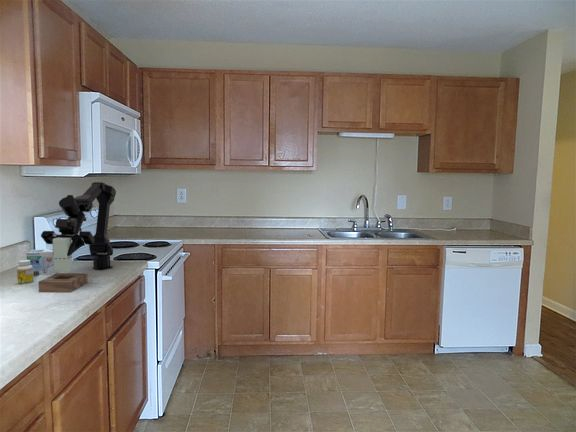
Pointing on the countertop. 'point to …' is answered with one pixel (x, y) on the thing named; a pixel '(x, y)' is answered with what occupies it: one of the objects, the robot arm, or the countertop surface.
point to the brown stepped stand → (63, 282)
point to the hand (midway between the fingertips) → (60, 255)
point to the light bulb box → (41, 261)
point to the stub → (62, 254)
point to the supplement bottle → (25, 272)
